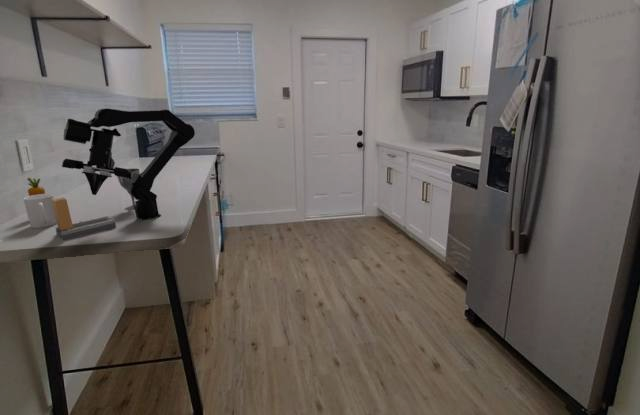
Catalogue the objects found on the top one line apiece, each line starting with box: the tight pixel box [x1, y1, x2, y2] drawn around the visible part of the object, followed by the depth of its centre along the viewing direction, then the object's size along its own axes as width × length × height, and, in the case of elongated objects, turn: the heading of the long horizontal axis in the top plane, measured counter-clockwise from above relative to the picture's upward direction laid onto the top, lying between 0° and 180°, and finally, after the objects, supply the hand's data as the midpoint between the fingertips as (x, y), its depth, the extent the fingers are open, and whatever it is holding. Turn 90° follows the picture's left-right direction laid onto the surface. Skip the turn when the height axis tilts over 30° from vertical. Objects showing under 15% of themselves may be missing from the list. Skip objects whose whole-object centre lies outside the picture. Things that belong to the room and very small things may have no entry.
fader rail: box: [55, 215, 117, 241], centre depth 121 cm, size 15×8×3 cm, turn 137°
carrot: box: [27, 177, 46, 196], centre depth 138 cm, size 5×5×15 cm
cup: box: [22, 193, 57, 229], centre depth 127 cm, size 8×12×10 cm
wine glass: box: [116, 168, 140, 211], centre depth 145 cm, size 8×8×15 cm
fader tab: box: [51, 197, 75, 233], centre depth 115 cm, size 4×5×10 cm
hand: (94, 194), depth 121 cm, fingers closed
